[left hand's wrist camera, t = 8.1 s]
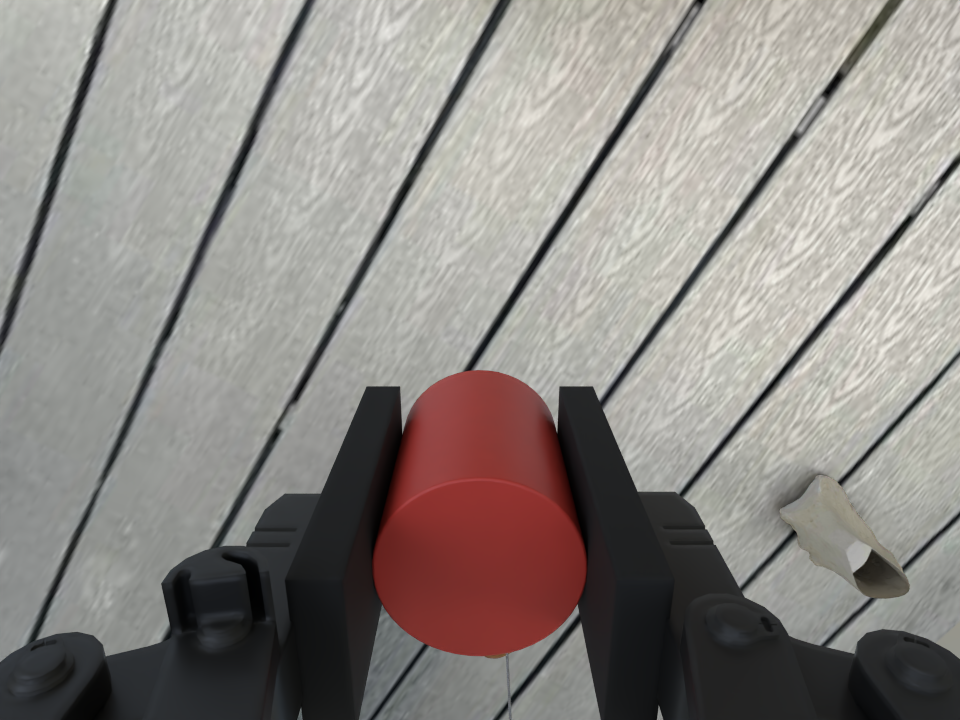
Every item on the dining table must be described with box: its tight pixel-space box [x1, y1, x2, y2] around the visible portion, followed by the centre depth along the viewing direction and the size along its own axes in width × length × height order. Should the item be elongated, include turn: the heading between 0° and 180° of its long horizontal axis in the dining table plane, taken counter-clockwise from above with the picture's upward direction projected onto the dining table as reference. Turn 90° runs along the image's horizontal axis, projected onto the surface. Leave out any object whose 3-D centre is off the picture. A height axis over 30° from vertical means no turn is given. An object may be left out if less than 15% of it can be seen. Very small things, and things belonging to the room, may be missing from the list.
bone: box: [779, 475, 910, 599], centre depth 50 cm, size 9×8×10 cm
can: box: [372, 370, 587, 656], centre depth 13 cm, size 4×4×5 cm
